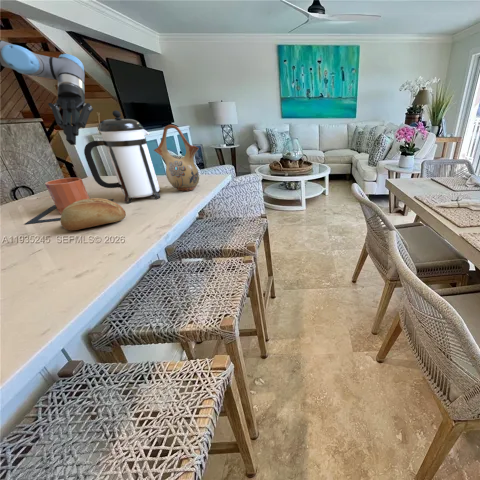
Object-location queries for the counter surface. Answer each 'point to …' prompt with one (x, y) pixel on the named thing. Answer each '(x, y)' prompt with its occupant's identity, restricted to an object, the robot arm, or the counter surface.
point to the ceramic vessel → (179, 164)
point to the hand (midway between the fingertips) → (71, 142)
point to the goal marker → (36, 219)
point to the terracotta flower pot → (66, 191)
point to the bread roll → (91, 213)
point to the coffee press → (126, 158)
